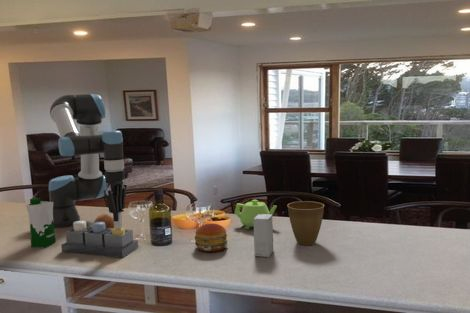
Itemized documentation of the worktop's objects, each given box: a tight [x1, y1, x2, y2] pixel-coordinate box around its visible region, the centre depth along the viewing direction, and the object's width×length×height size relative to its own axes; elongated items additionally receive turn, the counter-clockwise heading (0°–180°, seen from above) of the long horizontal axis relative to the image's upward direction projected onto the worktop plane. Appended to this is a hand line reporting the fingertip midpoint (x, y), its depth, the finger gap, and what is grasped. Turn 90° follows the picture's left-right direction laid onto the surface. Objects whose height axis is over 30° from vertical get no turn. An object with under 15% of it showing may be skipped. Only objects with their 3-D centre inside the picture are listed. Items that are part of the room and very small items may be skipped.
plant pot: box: [287, 200, 325, 246], centre depth 181 cm, size 15×15×16 cm
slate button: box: [91, 222, 105, 233], centre depth 179 cm, size 5×5×5 cm
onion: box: [93, 212, 114, 228], centre depth 198 cm, size 10×10×10 cm
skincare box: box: [253, 214, 274, 258], centre depth 170 cm, size 8×6×15 cm
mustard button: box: [112, 226, 126, 235], centre depth 176 cm, size 5×5×5 cm
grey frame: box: [61, 226, 139, 258], centre depth 179 cm, size 12×28×8 cm, turn 73°
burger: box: [193, 223, 228, 253], centre depth 178 cm, size 14×14×10 cm
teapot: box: [234, 199, 278, 230], centre depth 206 cm, size 20×13×13 cm
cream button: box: [72, 220, 87, 232], centre depth 181 cm, size 5×5×5 cm
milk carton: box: [25, 197, 57, 248], centre depth 187 cm, size 9×9×20 cm
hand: (118, 228), depth 176 cm, fingers closed
